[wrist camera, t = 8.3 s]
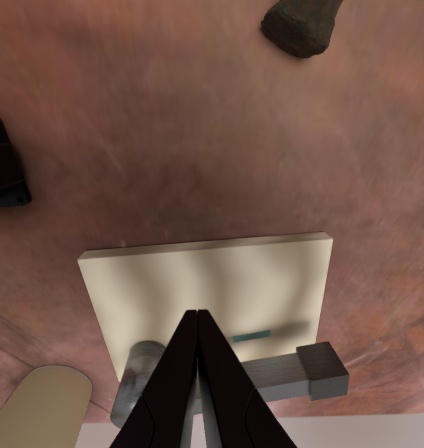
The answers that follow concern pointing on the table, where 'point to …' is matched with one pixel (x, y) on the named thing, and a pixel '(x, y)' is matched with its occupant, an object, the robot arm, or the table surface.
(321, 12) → the wooden log
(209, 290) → the board
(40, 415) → the lidded canister
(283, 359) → the lever
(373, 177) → the table surface
